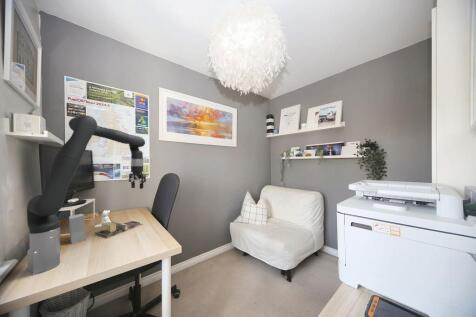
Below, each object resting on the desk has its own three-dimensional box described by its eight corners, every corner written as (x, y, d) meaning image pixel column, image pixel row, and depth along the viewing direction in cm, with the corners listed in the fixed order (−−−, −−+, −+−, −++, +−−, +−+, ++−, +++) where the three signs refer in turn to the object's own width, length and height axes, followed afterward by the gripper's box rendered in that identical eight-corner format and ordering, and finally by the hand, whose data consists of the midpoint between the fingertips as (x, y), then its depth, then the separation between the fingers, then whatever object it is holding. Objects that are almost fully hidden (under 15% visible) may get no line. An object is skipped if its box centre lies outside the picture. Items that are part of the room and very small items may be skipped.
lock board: (106, 240, 102) (106, 232, 102) (91, 236, 109) (91, 228, 109) (143, 225, 125) (143, 218, 125) (129, 222, 132) (129, 216, 132)
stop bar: (116, 232, 111) (116, 223, 111) (110, 234, 108) (110, 225, 108) (107, 230, 114) (107, 221, 115) (102, 232, 111) (101, 223, 111)
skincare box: (86, 241, 101) (85, 215, 101) (69, 246, 96) (69, 218, 96) (84, 237, 107) (84, 212, 107) (68, 241, 102) (68, 215, 102)
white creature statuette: (103, 224, 130) (103, 208, 130) (114, 223, 130) (114, 208, 131) (93, 228, 121) (93, 212, 121) (106, 228, 121) (105, 211, 121)
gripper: (125, 165, 118) (125, 188, 118) (139, 165, 112) (139, 189, 112) (135, 165, 125) (135, 187, 125) (148, 165, 119) (149, 188, 119)
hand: (137, 188), depth 118 cm, fingers open, 8 cm apart
